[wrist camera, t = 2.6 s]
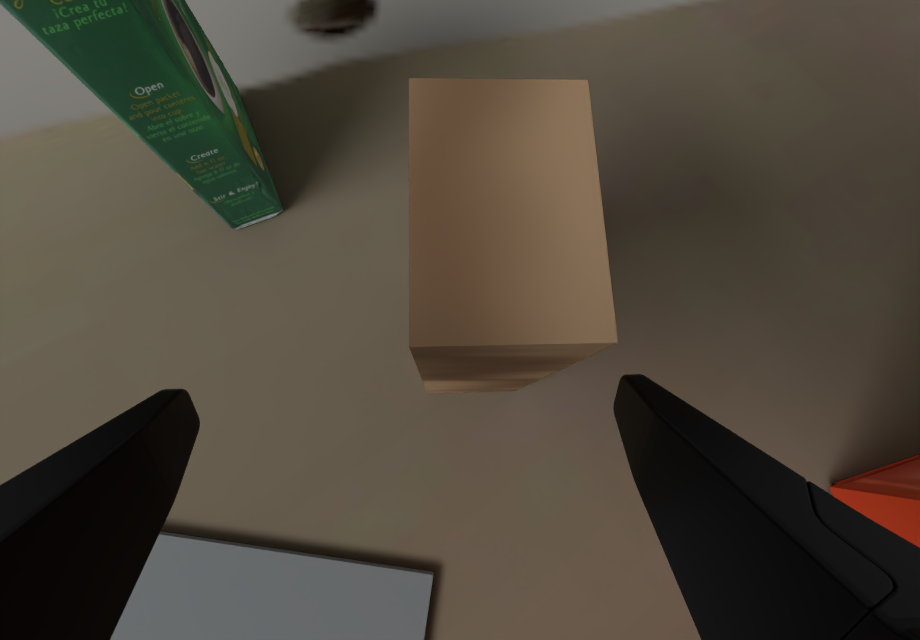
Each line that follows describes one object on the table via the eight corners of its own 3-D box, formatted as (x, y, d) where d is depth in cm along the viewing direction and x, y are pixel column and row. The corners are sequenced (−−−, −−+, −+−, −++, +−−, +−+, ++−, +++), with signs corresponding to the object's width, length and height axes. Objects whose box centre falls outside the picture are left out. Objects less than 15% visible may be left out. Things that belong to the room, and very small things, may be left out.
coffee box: (184, 102, 23) (-138, -307, 10) (238, 84, 23) (-6, -330, 10) (230, 233, 21) (-83, -54, 8) (288, 213, 22) (70, -92, 9)
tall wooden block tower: (507, 267, 21) (587, 79, 10) (514, 390, 20) (617, 342, 8) (426, 268, 21) (409, 77, 10) (427, 393, 20) (408, 346, 8)
